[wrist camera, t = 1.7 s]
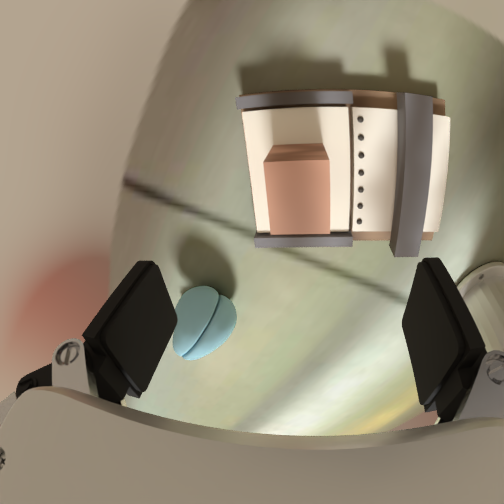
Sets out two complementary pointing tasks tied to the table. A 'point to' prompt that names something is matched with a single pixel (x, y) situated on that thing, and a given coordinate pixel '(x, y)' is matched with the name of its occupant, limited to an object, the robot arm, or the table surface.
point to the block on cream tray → (299, 169)
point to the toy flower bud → (202, 322)
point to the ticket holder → (378, 165)
